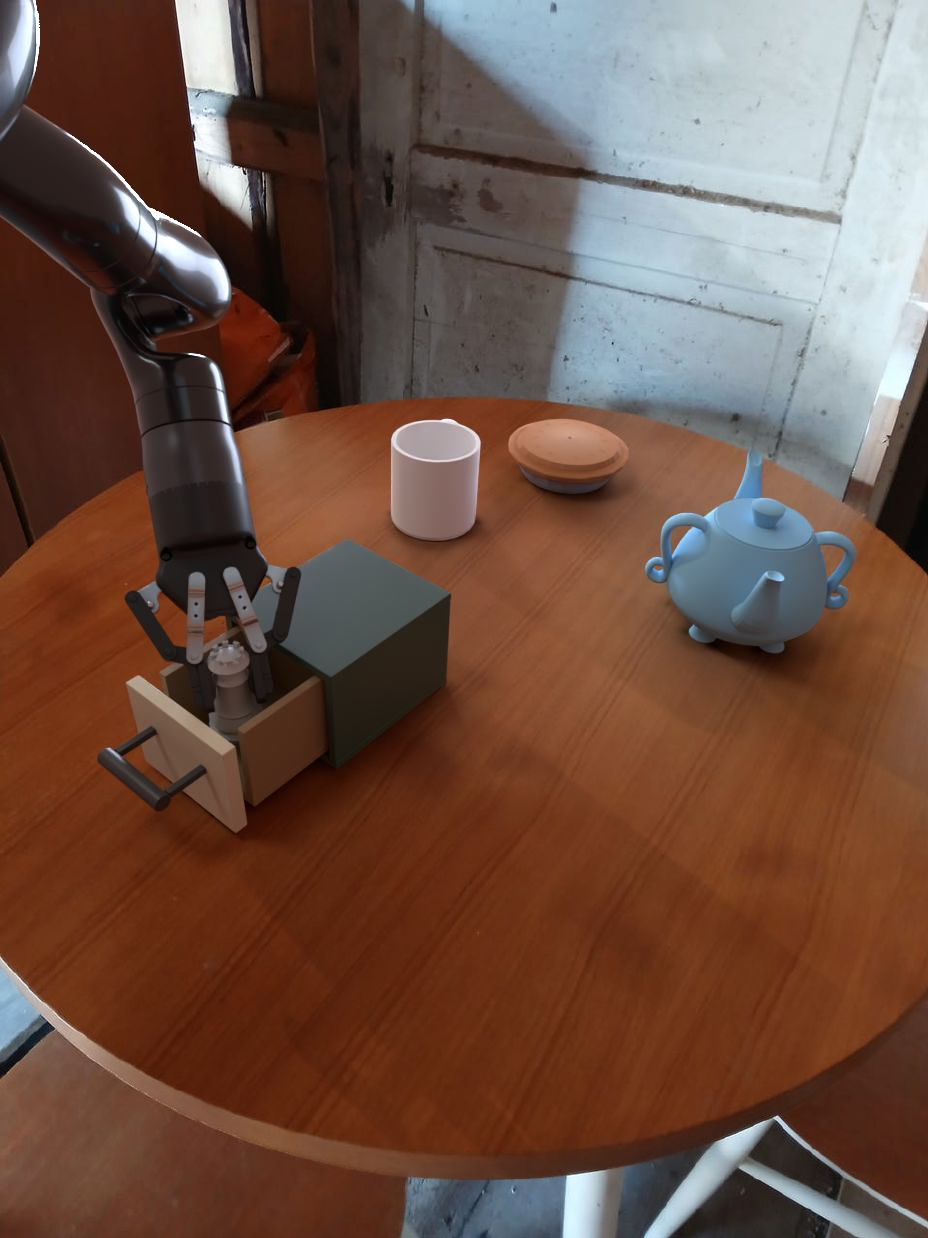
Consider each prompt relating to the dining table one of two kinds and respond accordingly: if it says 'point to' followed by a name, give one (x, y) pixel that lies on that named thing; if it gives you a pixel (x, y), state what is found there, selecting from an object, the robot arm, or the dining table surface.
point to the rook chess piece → (231, 690)
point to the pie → (567, 455)
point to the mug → (434, 479)
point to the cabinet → (363, 640)
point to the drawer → (208, 760)
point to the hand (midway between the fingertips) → (236, 706)
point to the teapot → (751, 569)
